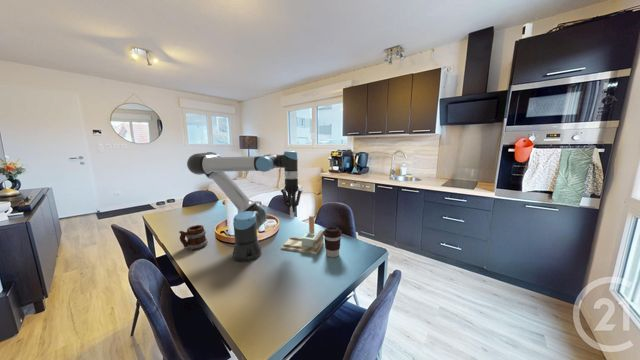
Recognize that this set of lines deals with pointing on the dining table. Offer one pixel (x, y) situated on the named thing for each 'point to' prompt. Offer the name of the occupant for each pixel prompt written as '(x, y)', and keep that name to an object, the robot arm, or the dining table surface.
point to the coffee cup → (332, 241)
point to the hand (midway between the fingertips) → (292, 217)
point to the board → (296, 245)
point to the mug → (194, 237)
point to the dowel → (311, 224)
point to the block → (308, 240)
